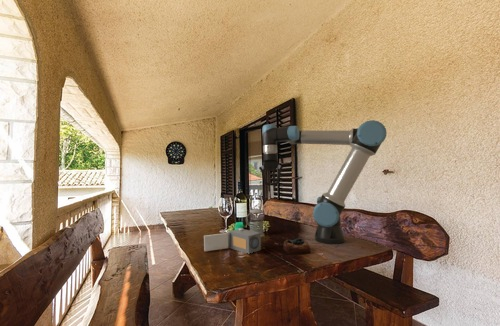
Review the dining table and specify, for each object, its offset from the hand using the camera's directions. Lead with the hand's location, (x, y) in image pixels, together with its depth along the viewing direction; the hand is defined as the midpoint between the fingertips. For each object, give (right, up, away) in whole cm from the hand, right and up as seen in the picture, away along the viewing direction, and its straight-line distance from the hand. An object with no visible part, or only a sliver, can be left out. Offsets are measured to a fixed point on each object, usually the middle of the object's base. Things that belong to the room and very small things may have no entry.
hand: (272, 197), depth 129 cm
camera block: (-15, -23, -12) cm, 30 cm away
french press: (-9, -24, +15) cm, 30 cm away
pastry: (+10, -23, -15) cm, 29 cm away
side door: (-28, -23, -13) cm, 38 cm away
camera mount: (-15, -24, +3) cm, 29 cm away
